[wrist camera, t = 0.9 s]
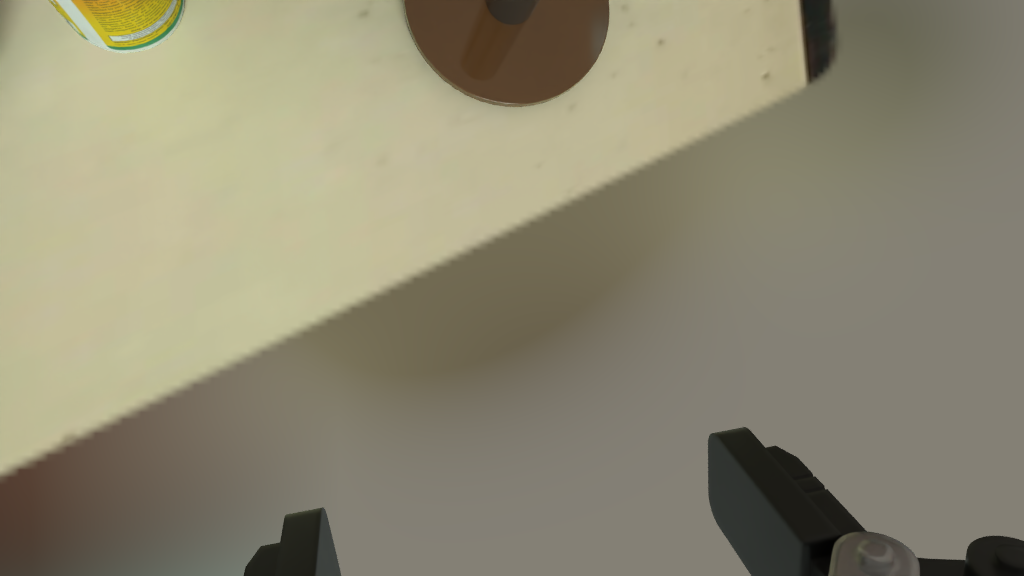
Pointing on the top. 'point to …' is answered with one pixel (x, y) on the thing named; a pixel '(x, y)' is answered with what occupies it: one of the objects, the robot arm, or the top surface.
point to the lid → (509, 45)
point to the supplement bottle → (122, 22)
